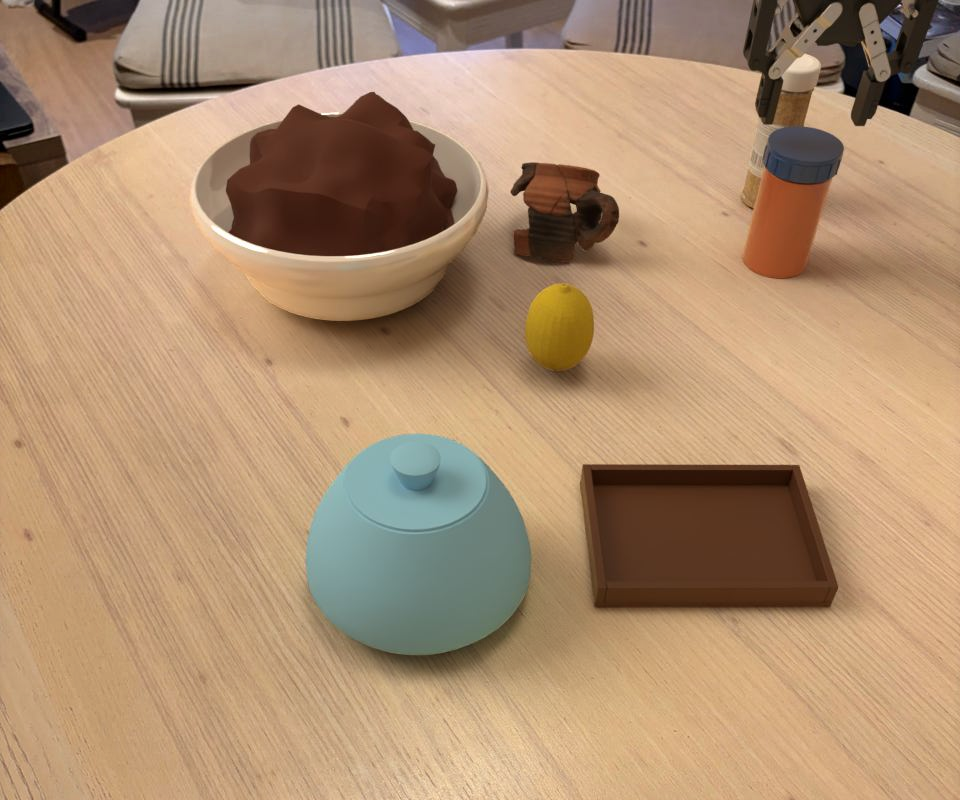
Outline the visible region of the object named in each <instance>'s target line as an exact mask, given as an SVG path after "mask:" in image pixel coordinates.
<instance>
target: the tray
mask: <svg viewBox="0 0 960 800" xmlns="http://www.w3.org/2000/svg"><path fill="white" fill-rule="evenodd" d="M579 482H580V483H579V487H580V495H581V503H582V505H581V506H582V512H583V519H584V521H583V522H584V527H585V528H584V529H585V535H586V536H585V537H586V545H587V552H588V560H589V570H590V578H591V585H592V587H591V588H592V593H593V604H594V607H595V608H703V607H704V608H709V607H710V608H720V607H721V608H728V607H729V608H730V607H733V608H734V607H735V608H739V607H741V608H742V607H743V608H744V607H746V608H747V607H749V608H750V607H751V608H752V607H754V608H755V607H768V608H769V607H771V608H772V607H773V608H774V607H776V608H777V607H782V608H784V607H787V608H789V607H792V608H793V607H800V608H801V607H802V608H803V607H813V608H814V607H831V606H832V604H833V602H834V599H835V597H836V595H837V592H838V590H839V587H840V586H839V583H838V581H837V578H836V574H835V571H834V568H833V565H832V562H831V560H830V559H831V558H830V556H829V553H828V550H827V546H826V543H825V541H824V537H823V535H822V531H821V528H820V524H819V522H818V519H817V515H816V513H815V509H814V506H813V503H812V500H811V497H810V493H809V491H808V488H807V485H806V482H805V478H804V475H803V472H802V469H801V466H800V465H799V464H650V463H649V464H647V463H646V464H639V463H638V464H636V463H635V464H634V463H633V464H629V463H628V464H623V463H621V464H619V463H617V464H614V463H610V464H605V463H604V464H601V463H600V464H598V463H596V464H595V463H594V464H593V463H592V464H588V463H587V464H586V463H583V464H582V465H581V474H580V480H579Z"/></svg>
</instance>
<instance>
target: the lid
mask: <svg viewBox="0 0 960 800" xmlns="http://www.w3.org/2000/svg"><path fill="white" fill-rule="evenodd" d="M844 152H845V146H844V144H843V142H842V141H841V140H840V139H839V138H838V137H836V136H835V135H834V134H832V133H830V132H827V131H825V130H822V129H819V128H815V127H812V126H811V127H810V126H804V127H803V126H791V127H784V128H780V129H777V130H775V131H774V132H772V133H771V134H770V136H769V138H768V141H767V145H766V146H765V150H764V155H763V159H762V160H763V163H764V166H765V167H766V169H767V170H768V171H769V172H771V173H772V174H774V175H775V176H777V177H779V178H782V179H785V180H788V181H792V182H797V183H820V182H824V181H827V180H830V179H831V178H832V179H833V178H834V177H835V176H837V175H838V172H839V169H840V166H841V163H842V160H843V156H844Z"/></svg>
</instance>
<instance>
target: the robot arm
mask: <svg viewBox="0 0 960 800" xmlns="http://www.w3.org/2000/svg"><path fill="white" fill-rule="evenodd" d="M789 1H790V0H752V6H751V10H750V15H749V20H748V25H747V29H746V34H745V39H744V44H743V48H742V54H743V57H744V59H745V60H746V63H747V66H748V68H749V70H751V71H753V72H756V71H758V72H759V73H761V76H760V80H759V85H758V89H757V93H756V97H755V101H754V108H755V112H756V113H757V116H758V118H759V117H760V118H761V121H762V123H763V125H772V124H773V121H774V117H775V113H776V109H777V105H778V101H779V97H780V93H781V89H782V85H783V78H782V75H783V73H784V72H785V71H786V70H787V69H788V68H789V67H790V65H791V64H792V63H793V62H794V61H795V60H796V59H797V58H800V57H802V56H803V55H804V54H807V52H808V51H809V49H811V47H812V46H813V45H814V44H816V46H817V47H829V46H832V45H837V44H838V45H841V46H843V47H851V48H852V47H853V48H854V47H855V48H856V47H857V44H861V46H862V49H863V52H864V55H865V59H866V62H867V66H868V70H863V72H862V74H861V78H860V83H859V85H858V89H857V92H856V95H855V98H854V101H853V105H852V108H851V111H850V120H851V122H852V123H853V125H854V127H865V126H866V124H867V122H868V120H872V119H873V118H874V116H875V115H876V113H877V110H878V106H879V104H880V100H881V98H882V94H883V92H884V88H885V86H886V83H887V82H888V80H889V79H890V78H891V77H892V76H895V75H898V74H900V73H902V74H904V75H907V74H910V73H912V72H913V71H914V69H915V68H916V66H917V63H918V60H919V57H920V54H921V52H922V48H923V47H924V43H925V40H926V38H927V34H928V32H929V29H930V27H931V23H932V20H933V17H934V15H935V12H936V10H937V5H938V4H939V0H792V1H793V5H794V7H795V10H796V13H795V14H794V15H793V17H792V18H791V19H790V20H789V21H788V23H787V24H786V25H785V26H784V27H783V28H782V30H781V33H780V35H779V37H778V39H776V41H775V42H774V43H773V45H772V46H771V47H770V48H769V49H768V44H769V42H770V41H769V40H770V36H771V32H772V27H773V23H774V18H775V17H776V16H778V15H780V14H781V13H782V11H783V10H784V8H785V5H786V4H787V3H788V2H789ZM900 4H901V12H902V13H903V15H904V17H903V19H902V24H901V27H900V30H899V33H898V36H897V39H896V42H895V45H894V47H893V50H891V51H890V52H887V47H886V43H885V40H884V36H883V33H882V29H881V24H882V23H883V22H884V21H885V20H886V19H887V18H888V17H889V16H890V15H891V14H892V13H893V12H894V11H895V10H896V9H897V8H898V7H899V5H900ZM767 49H768V50H767Z"/></svg>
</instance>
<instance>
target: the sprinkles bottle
mask: <svg viewBox="0 0 960 800" xmlns="http://www.w3.org/2000/svg"><path fill="white" fill-rule="evenodd" d="M821 69H822V63H821V62H820V60H819V59H817V57H815V56H813V55H811V54H808V53H805V54H804V55H803V56H802V57H800V58H797V59H796V60H795V61H794V62H793V63H792V64H791V65H790V67H789V68H788V69H787V70H786V71H785V72H784V73H783V75H782V78H783V85H782V89H781V93H780V97H779V101H778V105H777V109H776V113H775V117H774V121H773V124H772V125H763V123H762V121H761V118H760V117H759V116H758V121H757V125H756V130H755V134H754V138H753V142H752V147H751V150H750V151H751V152H750V156H749V160H748V164H747V165H748V169H747V173H746V177H745V180H744V181H745V182H744V186H743V189H742V191H741V194H740V199H741V201H742V202H743V204H745V206H747V207H749V208H751V209H753V210H754V206H755V202H756V198H757V194H758V190H759V186H760V182H761V178H762V173H763V169H764V163H763V160H762V159H763V155H764V150H765V146H766V145H767V141H768V138H769V136H770V134H771V133H772V132H774V131H775V130H777V129H780V128H784V127H791V126H803V127H805V122H806V117H807V114H808V111H809V106H810V102H811V98H812V94H813V92H814V90H815V88H816V87H817V85H818V82H819V77H820V73H821Z"/></svg>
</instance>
